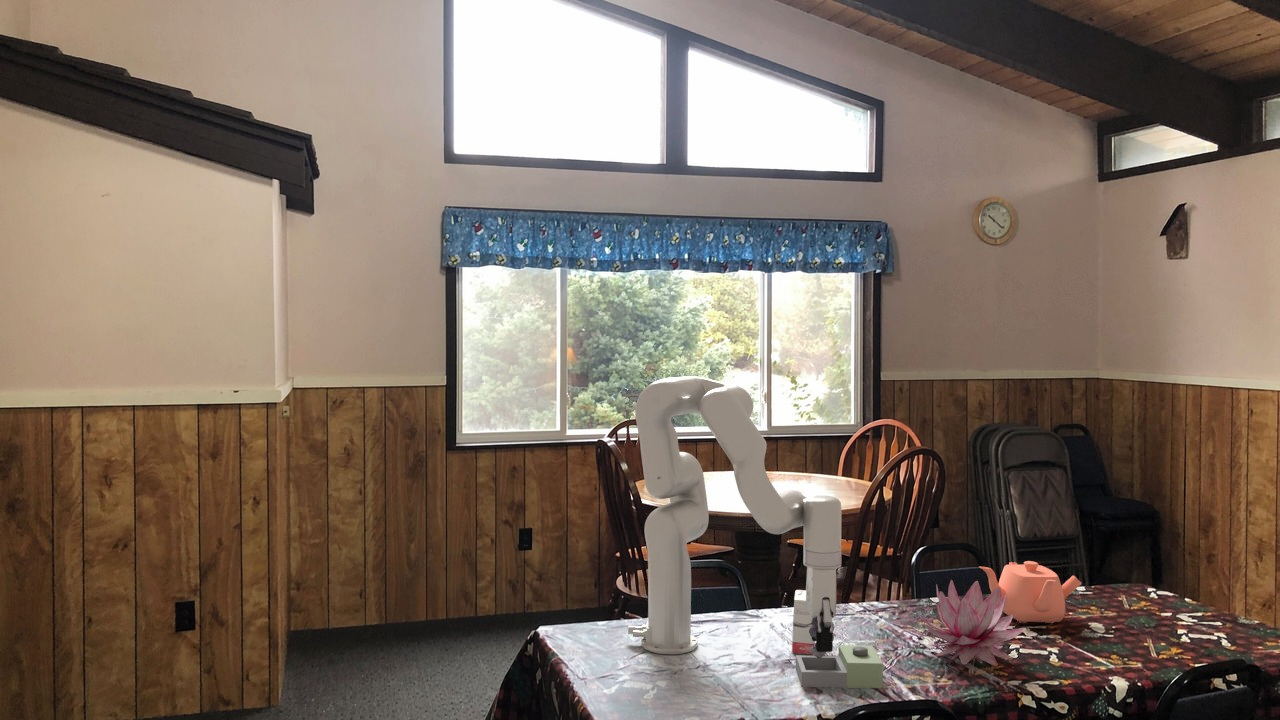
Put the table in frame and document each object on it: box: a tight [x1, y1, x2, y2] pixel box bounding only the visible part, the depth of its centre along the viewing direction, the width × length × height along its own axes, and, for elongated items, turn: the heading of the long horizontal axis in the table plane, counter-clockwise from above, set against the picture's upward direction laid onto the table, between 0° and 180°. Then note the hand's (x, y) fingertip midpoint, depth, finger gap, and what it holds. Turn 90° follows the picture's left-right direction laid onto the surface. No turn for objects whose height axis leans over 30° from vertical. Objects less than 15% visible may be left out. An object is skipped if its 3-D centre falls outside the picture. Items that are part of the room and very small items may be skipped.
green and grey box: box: [795, 644, 884, 689], centre depth 189 cm, size 16×10×6 cm, turn 88°
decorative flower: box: [916, 579, 1027, 666], centre depth 201 cm, size 21×21×15 cm
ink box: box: [791, 589, 816, 656], centre depth 206 cm, size 9×5×12 cm, turn 168°
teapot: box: [978, 560, 1082, 624], centre depth 227 cm, size 18×18×14 cm
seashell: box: [809, 613, 835, 658], centre depth 189 cm, size 5×5×10 cm
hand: (821, 645), depth 189 cm, fingers closed on seashell, 5 cm apart
